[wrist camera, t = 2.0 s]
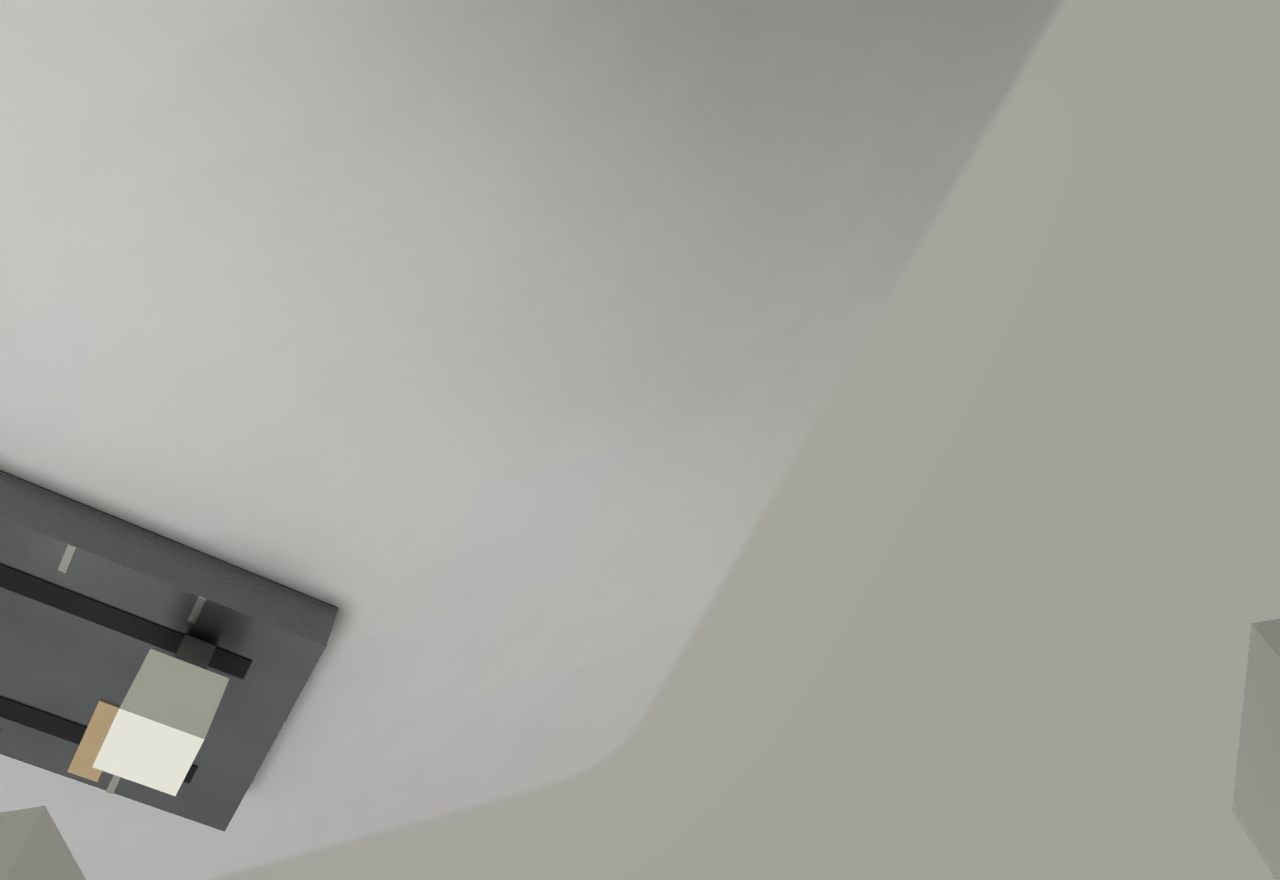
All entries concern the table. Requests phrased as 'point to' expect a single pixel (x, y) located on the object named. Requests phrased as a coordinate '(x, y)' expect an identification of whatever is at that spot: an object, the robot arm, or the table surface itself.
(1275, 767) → the robot arm
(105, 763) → the fader
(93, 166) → the table surface
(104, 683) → the console
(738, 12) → the table surface
